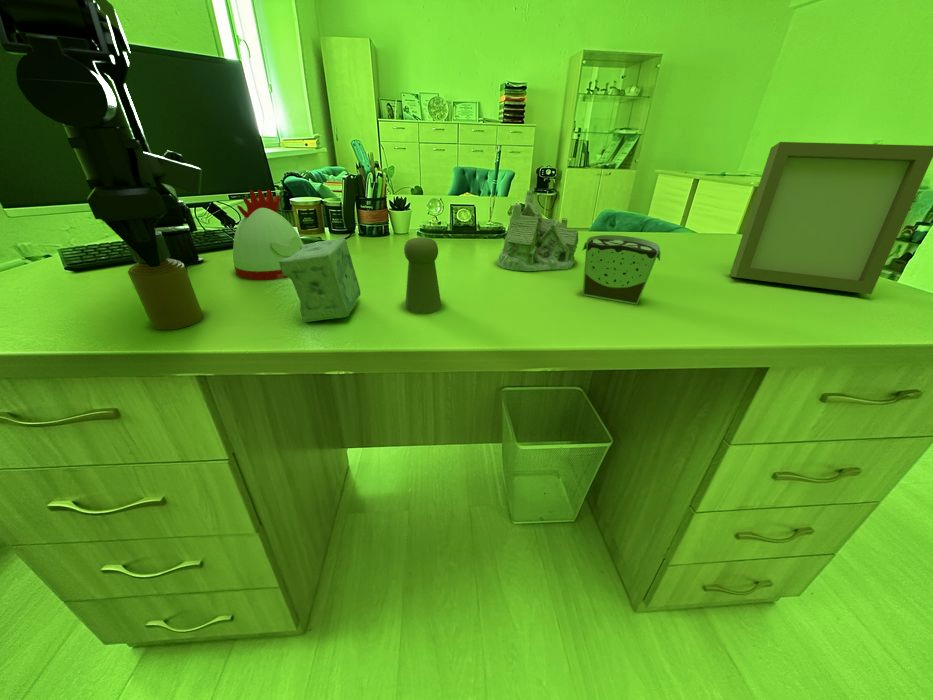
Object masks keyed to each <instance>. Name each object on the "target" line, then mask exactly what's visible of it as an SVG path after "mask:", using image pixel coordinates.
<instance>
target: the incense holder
mask: <svg viewBox="0 0 933 700" xmlns="http://www.w3.org/2000/svg"><path fill="white" fill-rule="evenodd" d="M299 247H300V249H301V250H300V251H298V252H296V253H294V255H292V256H291V257H289V258H282V259H280V260H279V264H280V268H281V270H282V273H283V275H284V276H288V277H287V278H289V279H290V280H291V283H292V285H293V287H294V289H295V292H296V294H297V297H298V299H299V302H300V303H299V305H300V306H299V312H300V313H299V314H300V316H301V319H302V321H303V322H305V323H310V322H317V321H324V320H331V319H332V320H333V319H342V318H343V319H344V318H347V317H349V316H350V315H351V313H352V311H355V309H356V305H357V301H358V299H359V297H360V296H361V288H360V284H359V281H358V278H357V277H358V276H357V274H356V271H355V267H354V264H353V263H354V262H353V259H352V255H351V252H350V250H349V246H348V242H347V240H346V238H344V237H343V238H342V237H341V238H335V239H328V240H322V241H321V240H320V241H317V242H310V243H305V244H304V243H303V244H302V245H300V246H299Z"/></svg>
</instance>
